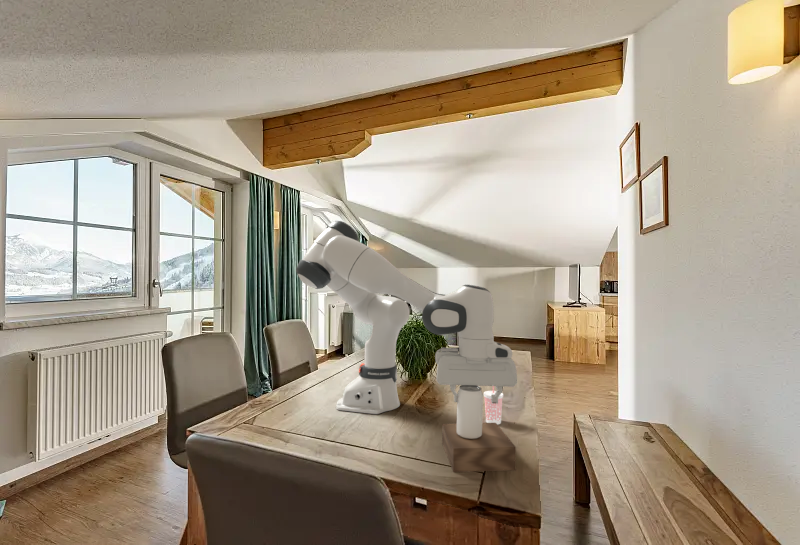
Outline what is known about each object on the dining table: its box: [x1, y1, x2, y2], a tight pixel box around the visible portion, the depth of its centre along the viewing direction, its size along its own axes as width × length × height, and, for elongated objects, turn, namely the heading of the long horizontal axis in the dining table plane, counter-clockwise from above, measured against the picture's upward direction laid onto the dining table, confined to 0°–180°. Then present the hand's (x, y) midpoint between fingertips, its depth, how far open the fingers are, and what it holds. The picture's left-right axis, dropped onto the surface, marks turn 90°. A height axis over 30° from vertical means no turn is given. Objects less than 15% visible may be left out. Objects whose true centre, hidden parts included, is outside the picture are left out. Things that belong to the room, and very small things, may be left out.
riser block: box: [441, 422, 517, 473], centre depth 98 cm, size 15×15×6 cm
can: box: [456, 385, 484, 439], centre depth 98 cm, size 6×6×12 cm
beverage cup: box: [483, 386, 504, 426], centre depth 121 cm, size 6×6×14 cm
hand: (475, 402), depth 98 cm, fingers open, 8 cm apart
